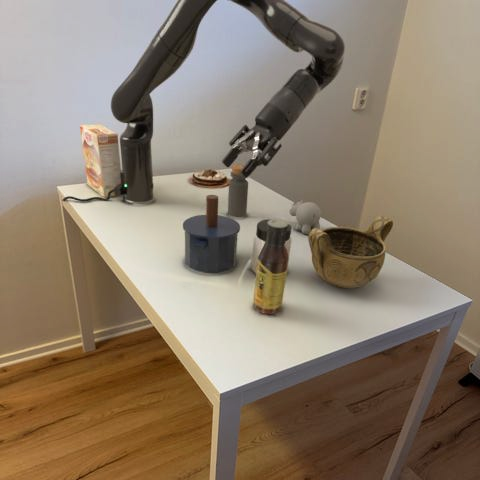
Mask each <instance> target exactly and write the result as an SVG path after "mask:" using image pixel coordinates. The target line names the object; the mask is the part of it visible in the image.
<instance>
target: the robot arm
mask: <svg viewBox="0 0 480 480" xmlns="http://www.w3.org/2000/svg"><path fill="white" fill-rule="evenodd" d="M217 1H218V0H177V1H176V3H175V5H174V6H172V9H171V10H170V12H169V14H168V15H167V17H166V18H165V20H164V21H163V23H162V24H161V25H160V27H159V28H158V30H157V32H156V33H155V34H154V35H153V38H152V39H151V41H150V42H149V44H148V46H147V47H146V49H145V50H144V52H143V53H142V55H141V57H140V58H139V60H138V61H137V63H136V64H135V66H134V68H133V69H132V70H131V72H130V73H129V74H128V75H127V77H126V78H125V79H124V80H123V82H122V83H121V84H120V85H119V86H118V87H117V88H116V89H115V90H114V92H113V94H112V96H111V100H110V111H111V114H112V116H113V118H114V119H115V120H116V121H117V122H120V123H122V124H127V125H126V127H125V129H124V131H123V132H122V133H121V134H120V136H119V148H120V160H121V171H120V179H121V184H119V185H117V186H116V187H114V189H113V190H111V191H110V192H109V193H108V197H100V196H93V197H89V198H78V197H75V196H71V195H69V196H65V197H64V198H62V200H61V201H62V202H65V201H66V200H69V199H70V200H74V201H77V202H90V201H93V200H94V201H95V200H98V201H99V200H100V201H104V202H106V201H109V200H110V198H111V196H110V194H111V193H112V192H114V193H115V195H116V196H117V197H118V196H119V197H121V200H122V202H125V203H127V204H130V205H134V204H135V205H145V204H149V203H152V202H155V196H154V195H155V194H154V186H155V185H154V177H153V174H154V173H153V157H152V139H153V136H154V105H153V99H152V97H151V93H153V92H154V90H155V89H157V88H158V87H160V86H161V85H163V83H165V82H166V81H167V80H168V79H170V78H172V76H173V75H174V74H175V73H177V71H178V70H179V69H181V67H182V66H183V64H184V63H185V62H186V60H187V59H188V58H189V56H190V54H191V53H192V51H193V49H194V46H195V43H196V40H197V36H198V30H199V27H200V24H201V23H202V21H203V19H204V17H205V16H206V15H207V13H208V12H209V10H210V9H211V8H212V7H213V5H214V4H215V3H216V2H217ZM228 1H229V2H231V3H234V4H236V5H238V6H240V7H241V8H244V10H247V11H248V12H249V13H251V14H252V15H253V16H254V17H255V18H256V19H257V20H258V21H259V22H260V23H261V25H262V26H263V27H264V28H265V29H266V30H267V31H268V32H269V34H270V35H272V36H273V37H274V38H275V39H276V40H277V41H279V42H280V43H281V44H283V46H285V47H286V48H287V49H289V50H290V51H292V52H293V53H297V54H298V53H302V52H306V53H307V54H309V55H310V56H311V61H310V62H309V63H308V65H306V67H305V68H299V69H297V70H295V71H294V72H293V73H292V74H291V75H290V76H289V78H288V79H287V80H286V81H285V83H284V84H283V85H282V86H281V88H279V90H277V91H276V92H275V93H274V94H273V95H272V96H271V97H270V98H269V100H268V101H267V102H266V104H265V105H264V106H263V107H262V109H261V110H260V111H259V113H257V114H256V116H255V118H254V122H255V125H254V126H253V127H252V128H249V126H248V125H247V124H244V125H243V126H242V127H241V129H240V130H239V131H237V133H236V134H235V135H234V136H233V138H232V139H230V141H229V142H228V145H229V147H230V150H229V151H228V152H227V154H226V155H225V156H224V157H223V158H222V160H221V162H222V164H223V165H224V166H225V167H226V168H230V167H231V166H232V164H234V162H235V161H236V159H237V158H238V157H239V155H242V154H244V153H249V152H253V153H252V156H251V158H249V159H248V161H246V163H245V164H244V167H243V168H242V169H241V171H240V173H241V174H242V175H243V176H244V177H245V178H246V179H248V178H249V176H251V175H252V174H253V172H254V171H255V170H256V169H257V168H258V167H261V166H262V165H263V166H264V167H266V166H268V165H269V164H270V163H271V161H272V160H273V159H274V157H275V156H276V155H277V154H278V152H279V151H280V149H281V148H282V146H283V145H282V143H281V142H280V141H281V140H282V139H283V138H284V136H286V134H287V133H288V131H289V130H290V129H291V128H292V127H293V126H294V124H295V123H296V122H297V121H298V120H299V118H300V116H301V115H302V113H304V110H305V109H306V108H307V107H308V106H309V104H311V103H312V101H313V100H314V99H315V97H316V96H317V94H319V93H321V92H322V91H323V90H324V89H325V88H327V87H328V86H329V85H330V84H331V83H332V82H333V81H334V80H335V79H336V77H338V75H339V74H340V72H341V71H342V68H343V65H344V64H343V63H344V58H345V53H346V45H345V41H344V39H343V37H342V36H341V35H340V33H339V32H337V31H336V30H335V29H333V28H332V27H330V26H327V25H324V24H322V23H319V22H317V21H314V20H311V19H310V18H309V17H307V16H306V15H305V14H303V13H302V12H301V11H300V10H298V9H297V8H296V7H294V6H293V5H292V4H290V3H289V2H288V1H286V0H228ZM266 156H267V157H266Z"/></svg>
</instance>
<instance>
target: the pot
mask: <svg viewBox="0 0 480 480" xmlns="http://www.w3.org/2000/svg"><path fill="white" fill-rule="evenodd" d="M237 249H238V234H236V235H234V236H232V237H229V238H224V239H203V238H198V237H195V236H192V235H190V234H188V233H186V232H185V231H184V263H185V265H186V266H187V267H188V268H189V269H192V270H193V271H195V272H201V273H205V274H218V273H223V272H228V271H229V270H231V269H233V268H234V267H235V266H236V264H237V252H238V251H237Z"/></svg>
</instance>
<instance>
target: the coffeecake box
mask: <svg viewBox="0 0 480 480" xmlns="http://www.w3.org/2000/svg"><path fill="white" fill-rule="evenodd" d="M79 129H80V136H81V144H82V145H81V146H82V151H83V159H84V168H85V173H86V182H87V185H88V186H89V187H90V188H91V189H92V190H94V191H95V192H96V193H98V194H99V195H100V196H102V198H107V197H108V193H109V192H110V191H111V190H113V189H114V187H116V186H117V185H119V184H121V179H120V171H121V170H122V166H121V155H120V144H119V135H118V134H119V133H117V132H115V131H113V130H111V129H110V128H107V127H105V126H104V125H102V124H100V123H93V124H80V125H79ZM116 196H117V195H115V193H114V192H112V193H111V194H110V197H116Z"/></svg>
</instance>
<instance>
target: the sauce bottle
mask: <svg viewBox="0 0 480 480" xmlns="http://www.w3.org/2000/svg"><path fill="white" fill-rule="evenodd" d="M288 224H289V223H288V222H287V221H286V220H284V219H279V218H273V219H272V220H270V221H268V223H267V238H266V242H265V244H264V246H263V248H262V250H261V252H260V254H259V256H258V262H257V271H256V273H255V281H254V292H253V307H254V309H255V310H256V311H257V312H259V313H260V314H266V315H274V314H276V313H279V312H280V311H281V308H282V305H283V301H284V292H285V287H286V280H287V273H288V270H287V264H288V265H289V262H288V252H287V249H286V248H285V237H286V232H287V230H288Z"/></svg>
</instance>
